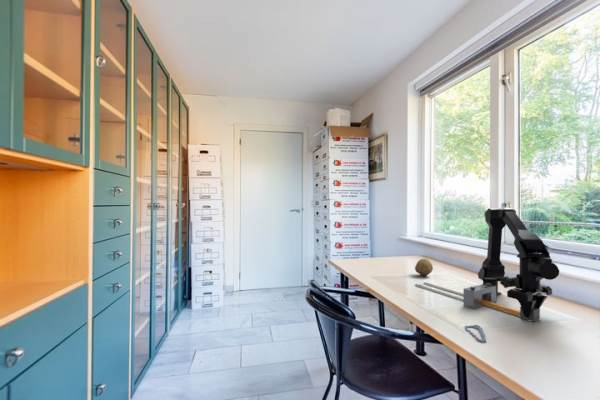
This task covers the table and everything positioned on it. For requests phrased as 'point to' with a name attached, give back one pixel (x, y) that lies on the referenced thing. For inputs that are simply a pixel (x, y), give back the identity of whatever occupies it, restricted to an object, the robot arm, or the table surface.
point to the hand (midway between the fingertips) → (530, 315)
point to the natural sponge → (423, 267)
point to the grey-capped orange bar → (515, 311)
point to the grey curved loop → (475, 335)
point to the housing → (469, 294)
